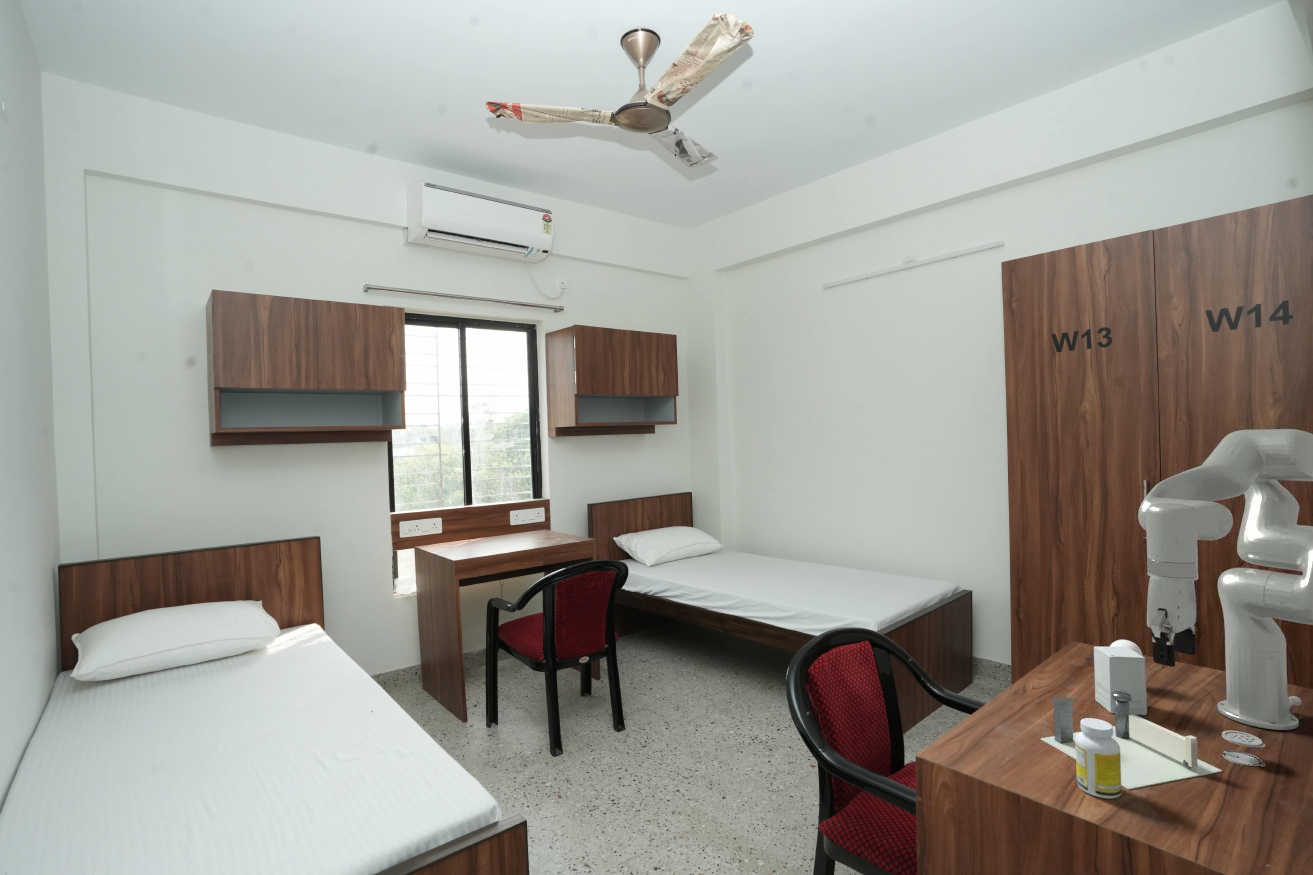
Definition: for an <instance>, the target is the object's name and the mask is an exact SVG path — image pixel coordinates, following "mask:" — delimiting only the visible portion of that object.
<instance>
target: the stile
mask: <svg viewBox="0 0 1313 875" xmlns="http://www.w3.org/2000/svg"><path fill="white" fill-rule="evenodd" d="M1051 703H1053V724H1054V725H1053V726H1054V736H1055V741H1057V742H1058V743H1060V744H1063V743H1069V742H1073V733H1074V718H1073V705H1074V704H1075V703H1076V702H1075V699H1073V698H1071V697H1068V696H1061V697H1060V696H1059V697H1054V698H1051Z"/></svg>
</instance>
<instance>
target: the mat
mask: <svg viewBox="0 0 1313 875" xmlns="http://www.w3.org/2000/svg"><path fill="white" fill-rule="evenodd" d="M1112 727H1113V736H1112V738H1113V739H1114V740H1115V741H1116V742H1117V743H1118V744H1119V746H1120V761H1121V787H1123V789H1124V788H1125V789H1126V790H1128V791H1129V790H1134V789H1140V788H1144V787H1151V786H1155V785H1159V784H1166V783H1170V782H1175V781H1181V780H1186V779H1191V778H1195V777H1202V776H1206V775H1211V774H1217V773H1222V772H1223V769H1220V768H1218V767H1216V766H1214V765H1212V764H1209V763H1207V762H1205V761H1203V760H1201V759H1199V758H1197V763H1198V766H1197V767H1193V768H1191V769H1190V768H1188V767H1186V766H1184V764H1183V763H1182V762H1180V761H1178V760H1176V759H1174V758H1172V757H1170V756H1168V755H1165V754H1163V753H1161V752H1159V751H1157V750H1155V749H1153V748H1151V747H1149V746H1147V745H1145V744H1143V743H1141V742H1139V741H1137V740H1135V739H1133V738H1131V737H1130V739H1121V738H1118V737H1117V736H1116V735H1115V725H1112ZM1081 732H1083V731H1082V730H1081V731H1076V732H1073V742H1069V743H1063V744H1060V743H1058V742H1057V741H1055V735H1053V736H1052V735H1051V736H1047V737H1041V738H1040V741H1042V742H1044V743H1046V744H1048V745H1049V746H1051V747H1053V748H1055V749H1056V750H1058V751H1060V752H1062V753H1064V754H1065V755H1067V756H1069V757H1071V758H1072V759H1074V760H1076V748H1075V738H1076V736H1077V735H1078V734H1079V733H1081Z"/></svg>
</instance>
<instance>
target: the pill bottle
mask: <svg viewBox="0 0 1313 875" xmlns="http://www.w3.org/2000/svg"><path fill="white" fill-rule="evenodd" d="M1112 726H1113V725H1112V724H1111V723H1109V721H1105V720H1102V719H1100V718H1099V719H1098V718H1093V717H1085V718H1082V719H1081V720H1080V730H1081V731H1080V732H1081V733H1079V734H1078V735H1077V736H1076V738H1075V748H1076V759H1075V763H1076V764H1075V765H1076V766H1075V767H1076V771H1075V772H1076V784H1077V786H1078V787H1079V788H1080V789H1081V790H1082V791H1084V792H1085V793H1087V794H1088V795H1091V796H1094V797H1098V798H1101V799H1116V798H1119V797H1120V796H1121V795H1122V786H1121V761H1120V746H1119V744H1118V743H1117V742H1116V741H1115V740H1114V739H1113V738H1112V736H1113V727H1112ZM1082 731H1083V732H1082Z"/></svg>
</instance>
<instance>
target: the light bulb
mask: <svg viewBox="0 0 1313 875" xmlns="http://www.w3.org/2000/svg"><path fill="white" fill-rule="evenodd" d="M1109 647H1128V648H1130V649H1132V650H1133V651H1135V652H1136V653H1138V654H1140V655H1141V656H1143V652H1142V650H1141V648H1140V647H1139V646H1138V645H1137V644H1136V643H1135V642H1133V641H1131V640H1128V639H1118V640H1117V639H1116V640H1115V641H1113V642H1112V643H1111V644H1110V645H1109Z"/></svg>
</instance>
